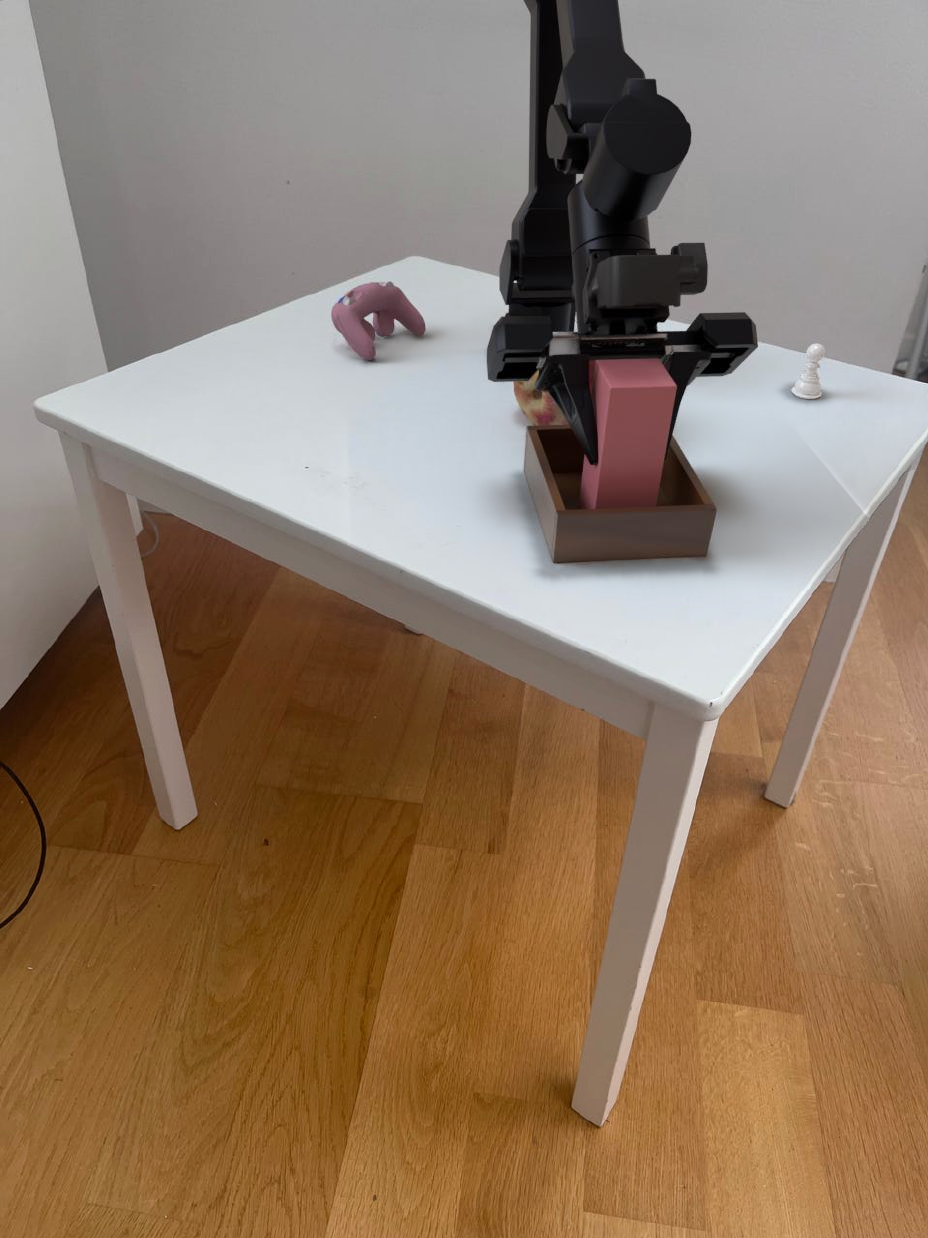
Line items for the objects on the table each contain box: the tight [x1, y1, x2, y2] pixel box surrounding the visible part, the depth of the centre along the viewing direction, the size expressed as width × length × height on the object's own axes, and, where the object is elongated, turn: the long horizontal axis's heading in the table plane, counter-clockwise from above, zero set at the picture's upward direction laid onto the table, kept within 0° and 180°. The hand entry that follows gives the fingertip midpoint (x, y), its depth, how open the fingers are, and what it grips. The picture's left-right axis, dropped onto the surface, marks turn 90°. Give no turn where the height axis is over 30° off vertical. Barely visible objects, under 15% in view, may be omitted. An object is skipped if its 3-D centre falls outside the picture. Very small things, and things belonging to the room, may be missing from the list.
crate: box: [522, 425, 718, 564], centre depth 72 cm, size 13×11×5 cm
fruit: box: [513, 361, 595, 426], centre depth 83 cm, size 8×8×8 cm
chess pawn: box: [791, 342, 826, 400], centre depth 91 cm, size 3×3×5 cm
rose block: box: [579, 358, 677, 509], centre depth 68 cm, size 5×5×12 cm
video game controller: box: [330, 281, 427, 361], centre depth 98 cm, size 10×5×7 cm, turn 144°
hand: (628, 462), depth 67 cm, fingers closed on rose block, 4 cm apart
